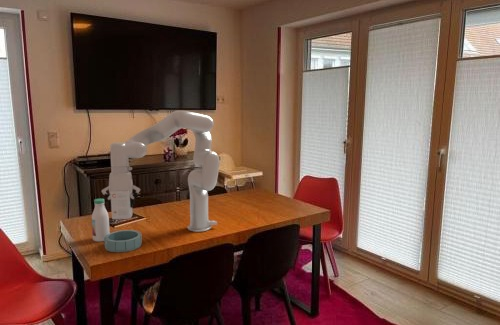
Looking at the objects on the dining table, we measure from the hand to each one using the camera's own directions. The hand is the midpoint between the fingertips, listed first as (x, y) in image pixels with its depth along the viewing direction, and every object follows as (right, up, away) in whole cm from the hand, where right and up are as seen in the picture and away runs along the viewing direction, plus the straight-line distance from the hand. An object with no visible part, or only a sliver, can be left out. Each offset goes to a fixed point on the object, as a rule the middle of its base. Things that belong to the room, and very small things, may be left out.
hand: (121, 207), depth 172 cm
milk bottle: (-14, -17, +11) cm, 25 cm away
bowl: (0, -18, +3) cm, 19 cm away
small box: (0, -5, +1) cm, 5 cm away
